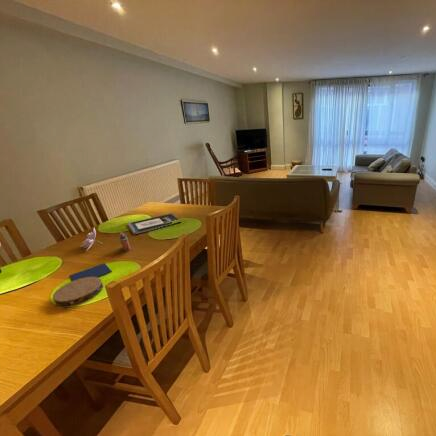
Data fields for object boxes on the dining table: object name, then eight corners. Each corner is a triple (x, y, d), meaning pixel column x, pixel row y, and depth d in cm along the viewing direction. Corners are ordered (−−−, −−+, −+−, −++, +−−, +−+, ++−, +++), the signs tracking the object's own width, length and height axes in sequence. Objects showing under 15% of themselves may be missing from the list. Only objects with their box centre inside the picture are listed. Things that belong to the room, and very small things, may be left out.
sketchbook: (181, 223, 174) (181, 220, 173) (134, 235, 155) (133, 232, 154) (171, 214, 188) (171, 212, 188) (127, 225, 170) (126, 222, 169)
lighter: (121, 247, 140) (116, 232, 136) (128, 245, 142) (123, 230, 138) (125, 252, 135) (120, 236, 131) (132, 250, 137) (127, 234, 133)
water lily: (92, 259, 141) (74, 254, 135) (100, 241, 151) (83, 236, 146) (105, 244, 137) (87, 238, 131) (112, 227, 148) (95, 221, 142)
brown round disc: (112, 282, 110) (110, 277, 109) (81, 307, 95) (79, 301, 94) (79, 281, 111) (77, 276, 110) (44, 306, 96) (41, 300, 95)
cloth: (75, 286, 108) (75, 285, 107) (69, 276, 115) (69, 275, 114) (112, 271, 118) (111, 271, 117) (104, 263, 125) (104, 262, 124)
